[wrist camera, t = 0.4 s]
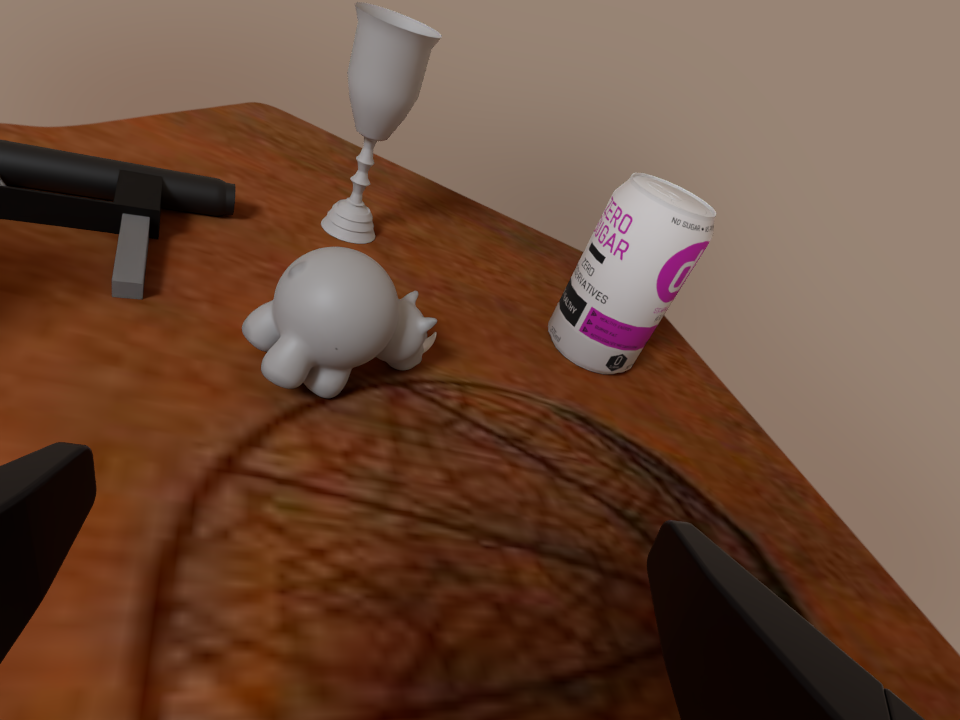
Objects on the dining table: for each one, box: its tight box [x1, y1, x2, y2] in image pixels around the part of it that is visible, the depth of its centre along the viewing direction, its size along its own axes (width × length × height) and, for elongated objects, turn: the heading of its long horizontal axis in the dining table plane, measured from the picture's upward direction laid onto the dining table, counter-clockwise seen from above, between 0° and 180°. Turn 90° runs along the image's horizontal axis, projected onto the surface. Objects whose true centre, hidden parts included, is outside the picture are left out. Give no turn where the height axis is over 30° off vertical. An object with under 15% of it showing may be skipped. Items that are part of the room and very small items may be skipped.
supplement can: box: [548, 173, 716, 374], centre depth 48 cm, size 8×8×15 cm
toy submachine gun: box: [0, 140, 235, 299], centre depth 40 cm, size 3×20×16 cm
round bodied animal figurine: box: [242, 247, 437, 398], centre depth 37 cm, size 7×12×8 cm, turn 120°
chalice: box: [321, 2, 442, 243], centre depth 50 cm, size 7×7×18 cm
